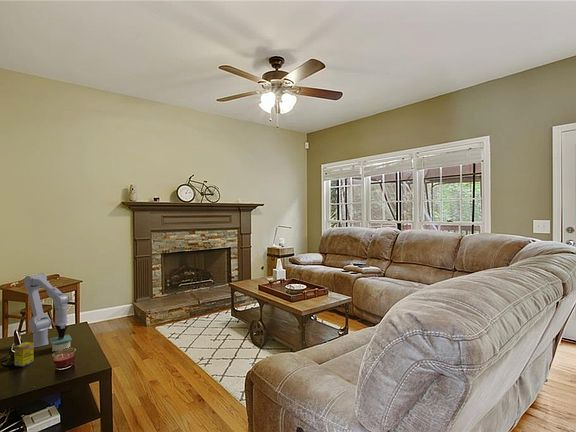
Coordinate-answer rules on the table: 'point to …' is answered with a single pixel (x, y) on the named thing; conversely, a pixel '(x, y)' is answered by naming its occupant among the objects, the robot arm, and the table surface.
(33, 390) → the table surface
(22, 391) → the table surface
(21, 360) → the supplement box
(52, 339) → the lid
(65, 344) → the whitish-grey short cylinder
